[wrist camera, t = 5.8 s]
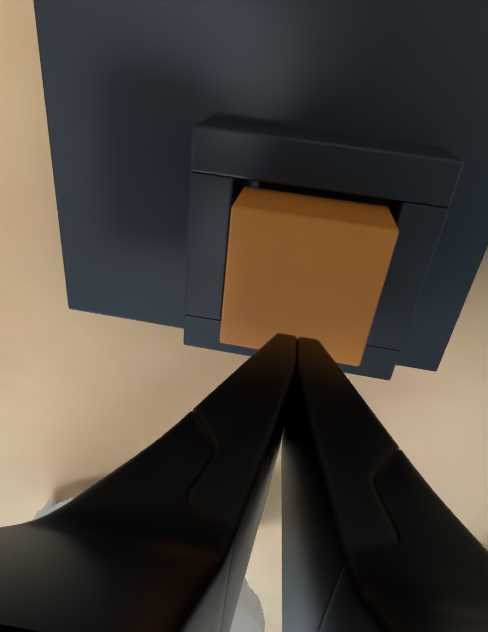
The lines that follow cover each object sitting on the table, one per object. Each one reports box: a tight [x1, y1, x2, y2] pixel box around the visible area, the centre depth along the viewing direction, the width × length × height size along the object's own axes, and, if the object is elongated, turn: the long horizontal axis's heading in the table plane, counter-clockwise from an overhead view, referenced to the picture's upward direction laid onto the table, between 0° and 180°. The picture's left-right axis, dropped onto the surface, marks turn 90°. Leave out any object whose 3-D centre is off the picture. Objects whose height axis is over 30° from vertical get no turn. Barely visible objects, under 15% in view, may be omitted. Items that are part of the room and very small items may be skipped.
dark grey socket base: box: [33, 0, 488, 380], centre depth 14 cm, size 14×11×4 cm
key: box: [220, 186, 399, 366], centre depth 12 cm, size 4×4×2 cm
